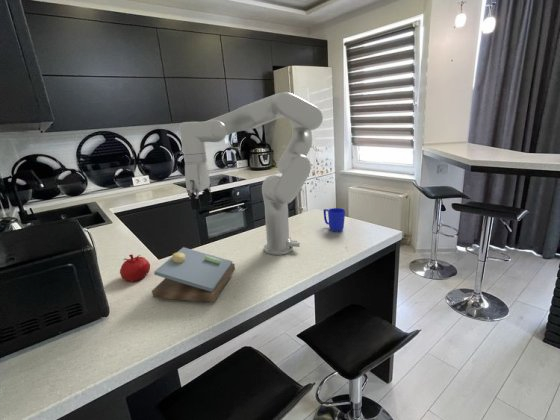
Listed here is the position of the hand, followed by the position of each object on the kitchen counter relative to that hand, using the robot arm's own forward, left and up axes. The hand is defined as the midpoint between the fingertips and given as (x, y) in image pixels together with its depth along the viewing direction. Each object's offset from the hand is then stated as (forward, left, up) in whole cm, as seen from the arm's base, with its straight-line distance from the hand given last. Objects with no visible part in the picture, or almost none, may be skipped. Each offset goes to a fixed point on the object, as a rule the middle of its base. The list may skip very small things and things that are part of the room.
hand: (202, 205), depth 107 cm
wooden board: (-2, +16, -24) cm, 29 cm away
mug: (-47, -42, -24) cm, 68 cm away
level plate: (-3, +16, -18) cm, 24 cm away
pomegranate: (+24, +12, -24) cm, 36 cm away
